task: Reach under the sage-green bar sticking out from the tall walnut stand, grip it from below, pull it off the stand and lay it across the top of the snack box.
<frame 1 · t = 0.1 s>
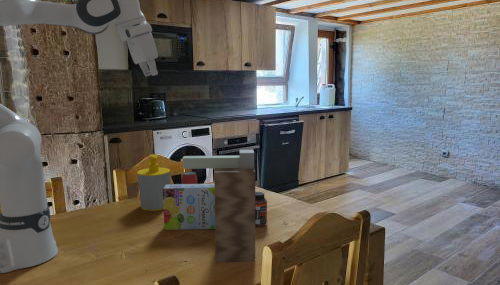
hand: (151, 75, 113), 52 cm above the table, tool tilted 20°, fingers open, 8 cm apart
walnut stand: (235, 252, 107), on the table
snack box: (195, 227, 126), on the table
bar: (218, 167, 102), point 26 cm above the table, touching walnut stand
beer can: (189, 200, 154), on the table
supplement bottle: (258, 224, 128), on the table
grey canister: (155, 206, 147), on the table
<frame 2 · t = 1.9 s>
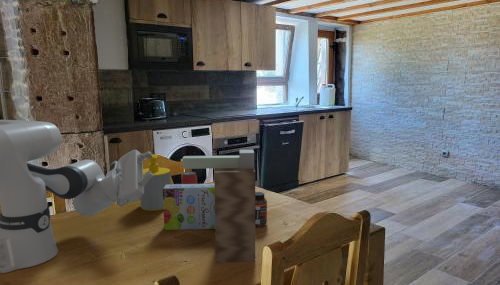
hand: (151, 163, 116), 24 cm above the table, tool pointing upward, fingers open, 8 cm apart
nothing on the table moved.
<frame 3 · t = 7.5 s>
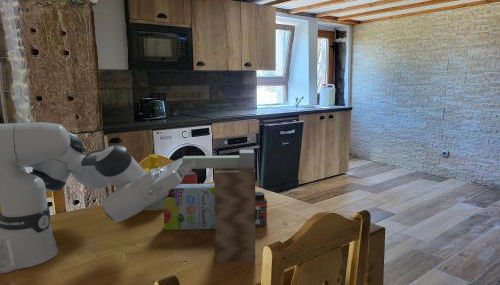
hand: (196, 160, 102), 28 cm above the table, tool pointing upward, fingers closed on bar, 3 cm apart
bar: (218, 167, 102), point 26 cm above the table, touching gripper, walnut stand
everything else where it was.
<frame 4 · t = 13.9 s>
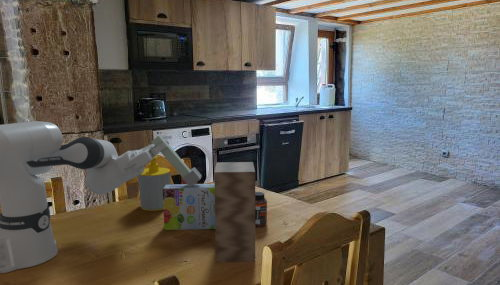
hand: (166, 143, 120), 30 cm above the table, tool pointing upward, fingers closed on bar, 3 cm apart
snack box: (195, 227, 126), on the table, touching bar
bar: (171, 163, 122), point 23 cm above the table, tilted 52°, touching gripper, snack box
everything else where it was.
when the fingers open (19 cm above the table, at t = 16.4 s): bar drops 1 cm, resting on snack box.
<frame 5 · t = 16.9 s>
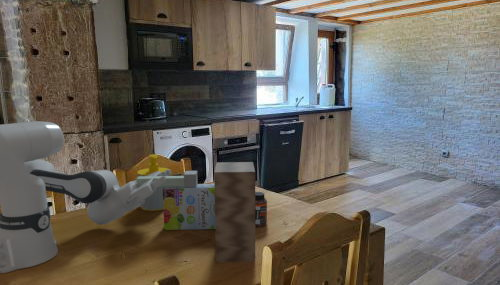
hand: (168, 174, 122), 19 cm above the table, tool pointing upward, fingers open, 8 cm apart
bar: (167, 185, 123), point 15 cm above the table, touching snack box
everything else where it was.
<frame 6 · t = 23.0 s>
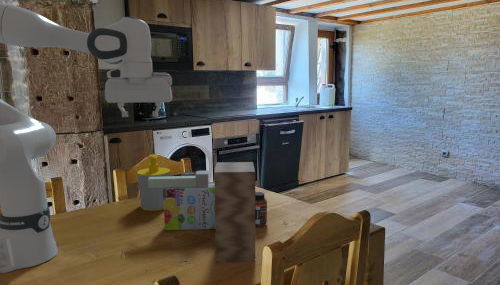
hand: (140, 116, 113), 39 cm above the table, tool pointing down, fingers open, 8 cm apart
bar: (178, 185, 123), point 15 cm above the table, touching snack box
everything else where it was.
at the end: bar touching snack box; bar point 15.0 cm above the table; the gripper is holding nothing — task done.
